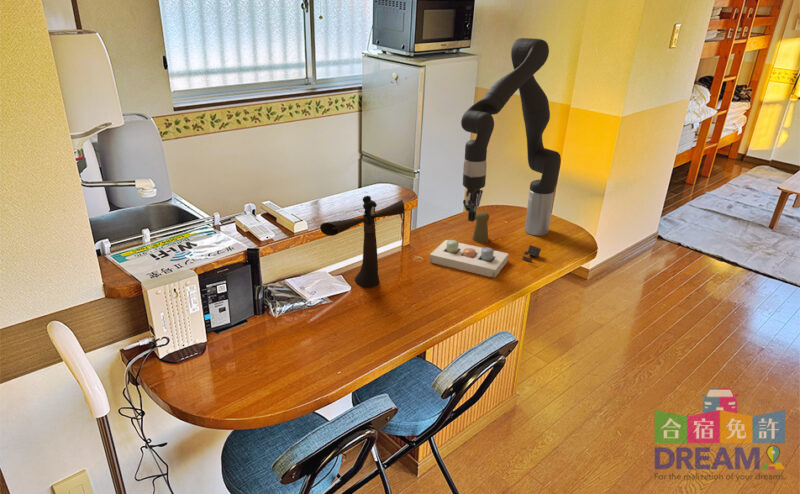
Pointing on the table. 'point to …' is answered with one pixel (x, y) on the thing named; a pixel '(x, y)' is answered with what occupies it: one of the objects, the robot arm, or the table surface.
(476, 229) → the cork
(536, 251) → the building blocks
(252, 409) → the table surface
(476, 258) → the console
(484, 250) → the slate button
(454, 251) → the pale green rounded piece
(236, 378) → the table surface
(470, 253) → the terracotta button
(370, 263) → the outstretched arms figurine
